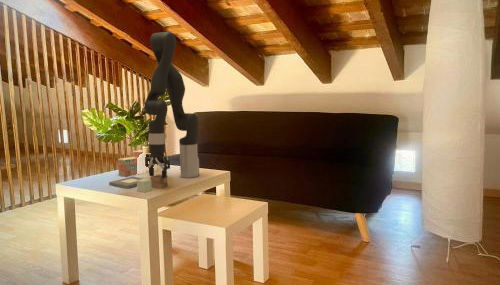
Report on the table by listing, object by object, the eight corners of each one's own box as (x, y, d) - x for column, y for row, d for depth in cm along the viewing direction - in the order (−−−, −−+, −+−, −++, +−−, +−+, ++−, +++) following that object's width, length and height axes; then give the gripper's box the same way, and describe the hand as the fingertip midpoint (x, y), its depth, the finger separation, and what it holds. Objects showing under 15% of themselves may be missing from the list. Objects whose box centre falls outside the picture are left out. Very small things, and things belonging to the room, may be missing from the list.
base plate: (132, 179, 202) (132, 176, 202) (151, 182, 194) (151, 179, 194) (109, 185, 191) (109, 181, 190) (128, 188, 183) (127, 185, 183)
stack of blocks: (125, 177, 208) (124, 154, 206) (118, 175, 212) (117, 153, 210) (158, 170, 224) (157, 149, 222) (151, 169, 228) (150, 148, 226)
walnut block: (159, 184, 190) (159, 174, 190) (167, 186, 187) (167, 175, 187) (150, 187, 186) (150, 176, 185) (159, 188, 183) (158, 178, 182)
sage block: (145, 189, 182) (144, 178, 182) (151, 190, 180) (151, 179, 179) (137, 191, 179) (136, 180, 178) (143, 192, 176) (143, 181, 176)
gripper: (173, 143, 183) (174, 177, 185) (152, 141, 191) (153, 174, 193) (161, 144, 177) (162, 180, 178) (140, 142, 185) (141, 176, 187)
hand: (157, 176), depth 186 cm, fingers open, 8 cm apart
